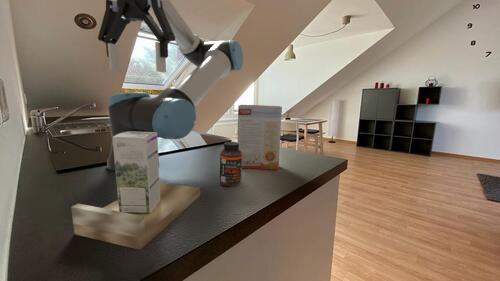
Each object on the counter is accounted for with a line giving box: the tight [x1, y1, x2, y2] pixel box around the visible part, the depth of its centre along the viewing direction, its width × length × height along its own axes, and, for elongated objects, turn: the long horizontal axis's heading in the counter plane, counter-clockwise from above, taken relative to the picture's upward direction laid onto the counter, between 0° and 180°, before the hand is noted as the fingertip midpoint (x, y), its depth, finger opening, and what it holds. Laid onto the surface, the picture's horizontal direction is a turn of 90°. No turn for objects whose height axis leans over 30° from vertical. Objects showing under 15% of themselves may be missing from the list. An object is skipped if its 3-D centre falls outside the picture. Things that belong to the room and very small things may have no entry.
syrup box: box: [111, 132, 160, 214], centre depth 42 cm, size 6×6×14 cm
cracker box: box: [237, 104, 283, 171], centre depth 75 cm, size 14×6×21 cm, turn 84°
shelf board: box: [70, 181, 201, 250], centre depth 45 cm, size 13×20×5 cm, turn 166°
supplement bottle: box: [219, 141, 243, 187], centre depth 61 cm, size 6×6×11 cm
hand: (137, 71), depth 56 cm, fingers open, 13 cm apart
